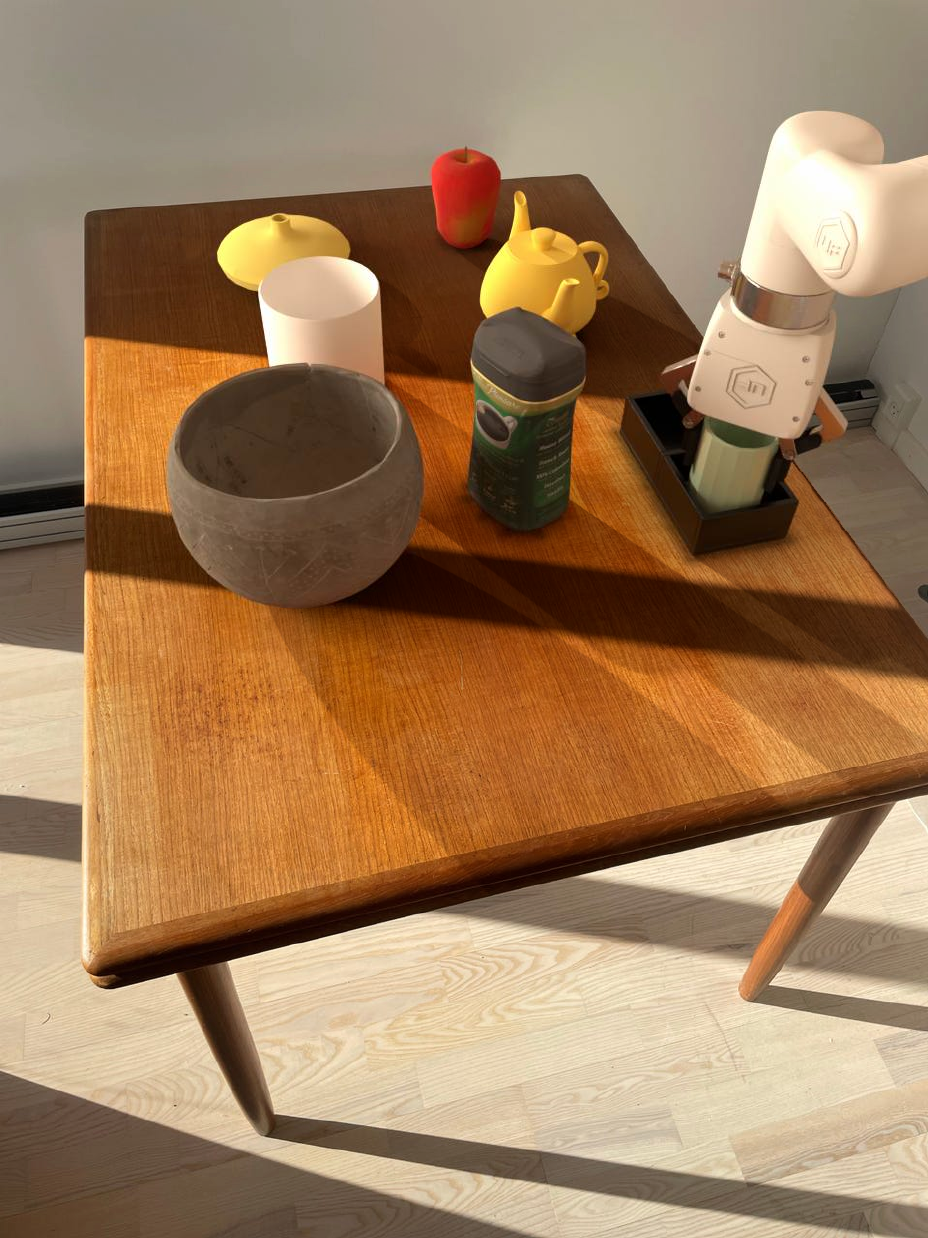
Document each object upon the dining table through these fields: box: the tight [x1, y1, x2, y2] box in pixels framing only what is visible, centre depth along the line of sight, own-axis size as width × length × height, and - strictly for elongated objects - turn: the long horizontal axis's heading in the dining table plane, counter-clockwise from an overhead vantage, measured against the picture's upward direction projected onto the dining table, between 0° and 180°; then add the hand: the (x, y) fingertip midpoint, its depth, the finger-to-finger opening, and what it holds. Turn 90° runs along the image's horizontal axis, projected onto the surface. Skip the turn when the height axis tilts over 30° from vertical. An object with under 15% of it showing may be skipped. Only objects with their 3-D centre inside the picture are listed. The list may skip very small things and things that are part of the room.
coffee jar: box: [467, 307, 587, 532], centre depth 85 cm, size 10×8×19 cm
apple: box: [430, 145, 502, 250], centre depth 119 cm, size 9×8×12 cm
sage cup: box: [688, 415, 780, 514], centre depth 87 cm, size 7×7×8 cm
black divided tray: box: [619, 389, 800, 557], centre depth 93 cm, size 18×9×5 cm, turn 16°
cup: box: [258, 256, 386, 387], centre depth 98 cm, size 12×12×12 cm
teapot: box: [479, 190, 610, 339], centre depth 107 cm, size 20×15×12 cm
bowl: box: [166, 363, 425, 609], centre depth 81 cm, size 21×21×15 cm
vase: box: [216, 212, 351, 293], centre depth 115 cm, size 16×16×7 cm
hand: (731, 468), depth 88 cm, fingers closed on sage cup, 6 cm apart
